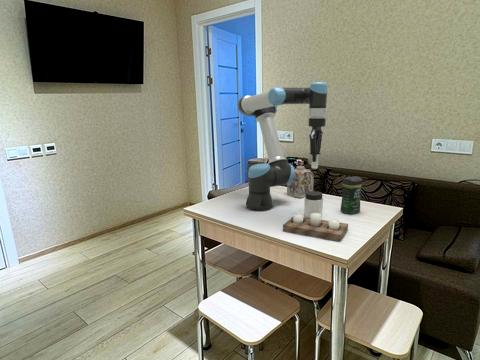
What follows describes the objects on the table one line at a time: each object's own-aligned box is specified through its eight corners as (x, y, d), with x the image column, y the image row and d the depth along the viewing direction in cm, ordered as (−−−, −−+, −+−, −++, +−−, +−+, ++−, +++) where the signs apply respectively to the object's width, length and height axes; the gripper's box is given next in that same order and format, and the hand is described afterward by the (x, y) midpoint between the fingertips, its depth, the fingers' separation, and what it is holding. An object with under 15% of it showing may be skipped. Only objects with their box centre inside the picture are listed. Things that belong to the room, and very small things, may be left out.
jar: (325, 217, 157) (326, 194, 154) (312, 220, 153) (313, 196, 150) (314, 212, 165) (314, 190, 162) (301, 215, 161) (301, 192, 158)
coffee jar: (350, 215, 158) (352, 179, 154) (337, 211, 165) (339, 176, 161) (363, 212, 163) (365, 176, 159) (350, 208, 170) (352, 174, 166)
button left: (291, 226, 143) (291, 215, 142) (295, 223, 147) (295, 213, 146) (301, 228, 141) (301, 217, 140) (304, 224, 145) (304, 214, 144)
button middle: (309, 226, 139) (309, 215, 138) (312, 222, 143) (312, 212, 142) (318, 227, 137) (319, 216, 136) (321, 224, 141) (322, 213, 140)
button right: (327, 232, 136) (327, 221, 134) (329, 229, 139) (330, 218, 138) (337, 234, 133) (338, 223, 132) (340, 230, 137) (340, 219, 136)
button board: (282, 231, 141) (282, 224, 140) (294, 221, 153) (294, 214, 152) (340, 241, 128) (340, 234, 128) (347, 230, 140) (348, 223, 140)
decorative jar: (313, 195, 195) (314, 166, 191) (299, 198, 189) (300, 169, 185) (300, 191, 205) (300, 164, 201) (286, 194, 199) (286, 166, 195)
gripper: (321, 118, 137) (318, 171, 143) (329, 116, 148) (326, 166, 154) (304, 118, 141) (302, 170, 147) (313, 116, 152) (311, 164, 158)
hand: (314, 168), depth 151 cm, fingers closed
